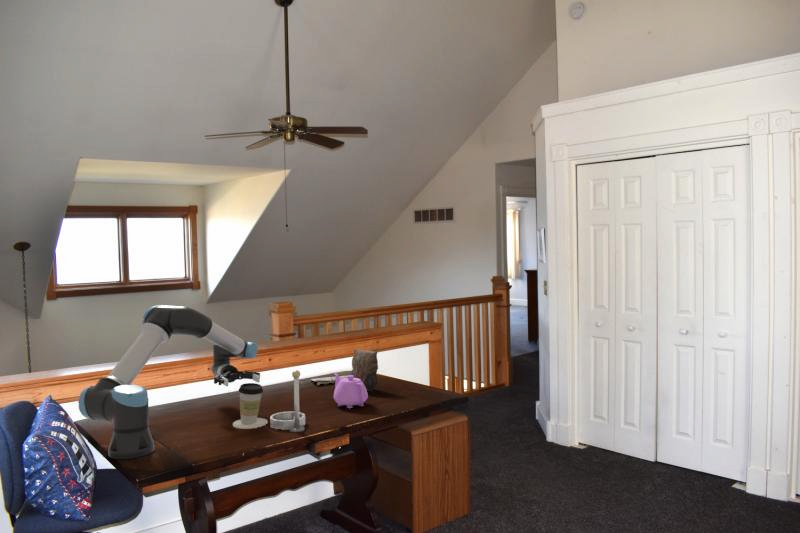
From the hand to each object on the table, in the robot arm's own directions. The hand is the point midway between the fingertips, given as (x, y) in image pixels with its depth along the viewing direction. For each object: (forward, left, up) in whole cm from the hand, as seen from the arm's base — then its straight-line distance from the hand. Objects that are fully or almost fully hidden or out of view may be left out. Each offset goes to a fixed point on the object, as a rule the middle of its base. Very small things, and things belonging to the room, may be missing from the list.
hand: (243, 381), depth 261 cm
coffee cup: (-9, -2, -15) cm, 18 cm away
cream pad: (-9, -3, -16) cm, 19 cm away
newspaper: (+60, -51, -17) cm, 81 cm away
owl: (+36, -57, -16) cm, 69 cm away
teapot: (+10, -47, -16) cm, 50 cm away
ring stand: (-16, -18, -16) cm, 29 cm away
